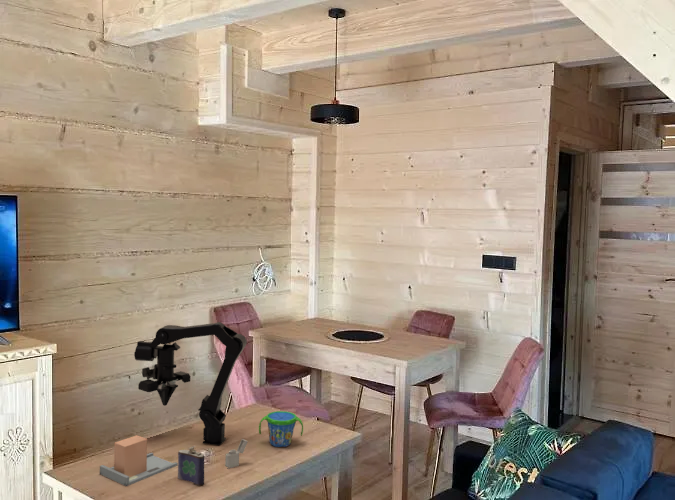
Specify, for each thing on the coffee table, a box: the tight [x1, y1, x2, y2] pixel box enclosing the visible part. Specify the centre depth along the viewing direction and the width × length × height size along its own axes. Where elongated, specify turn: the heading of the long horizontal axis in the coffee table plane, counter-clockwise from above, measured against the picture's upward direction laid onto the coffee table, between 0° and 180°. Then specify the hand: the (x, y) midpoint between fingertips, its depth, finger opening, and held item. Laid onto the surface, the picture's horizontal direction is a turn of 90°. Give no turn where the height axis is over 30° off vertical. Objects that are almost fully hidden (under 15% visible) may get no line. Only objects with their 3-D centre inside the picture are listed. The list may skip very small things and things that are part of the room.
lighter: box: [225, 438, 249, 470], centre depth 194 cm, size 7×2×8 cm, turn 129°
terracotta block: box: [113, 434, 148, 478], centre depth 184 cm, size 8×5×10 cm, turn 145°
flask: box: [177, 445, 205, 487], centre depth 181 cm, size 9×3×11 cm, turn 65°
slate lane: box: [99, 452, 178, 487], centre depth 187 cm, size 19×13×3 cm
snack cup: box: [258, 410, 304, 448], centre depth 213 cm, size 16×10×10 cm
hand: (164, 405), depth 213 cm, fingers closed
